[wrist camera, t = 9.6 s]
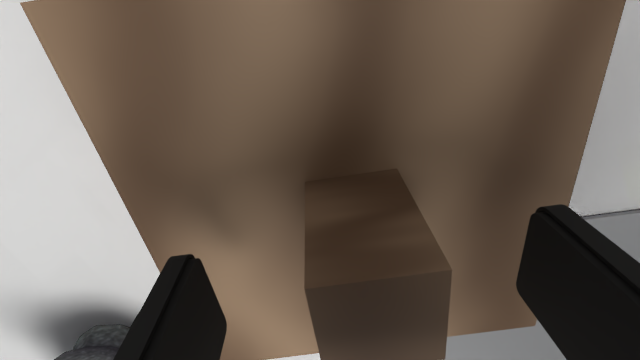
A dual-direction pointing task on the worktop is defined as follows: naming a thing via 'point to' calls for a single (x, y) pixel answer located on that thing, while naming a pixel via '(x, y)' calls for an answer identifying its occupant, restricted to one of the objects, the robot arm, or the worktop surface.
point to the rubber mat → (534, 342)
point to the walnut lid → (339, 153)
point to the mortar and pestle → (97, 343)
